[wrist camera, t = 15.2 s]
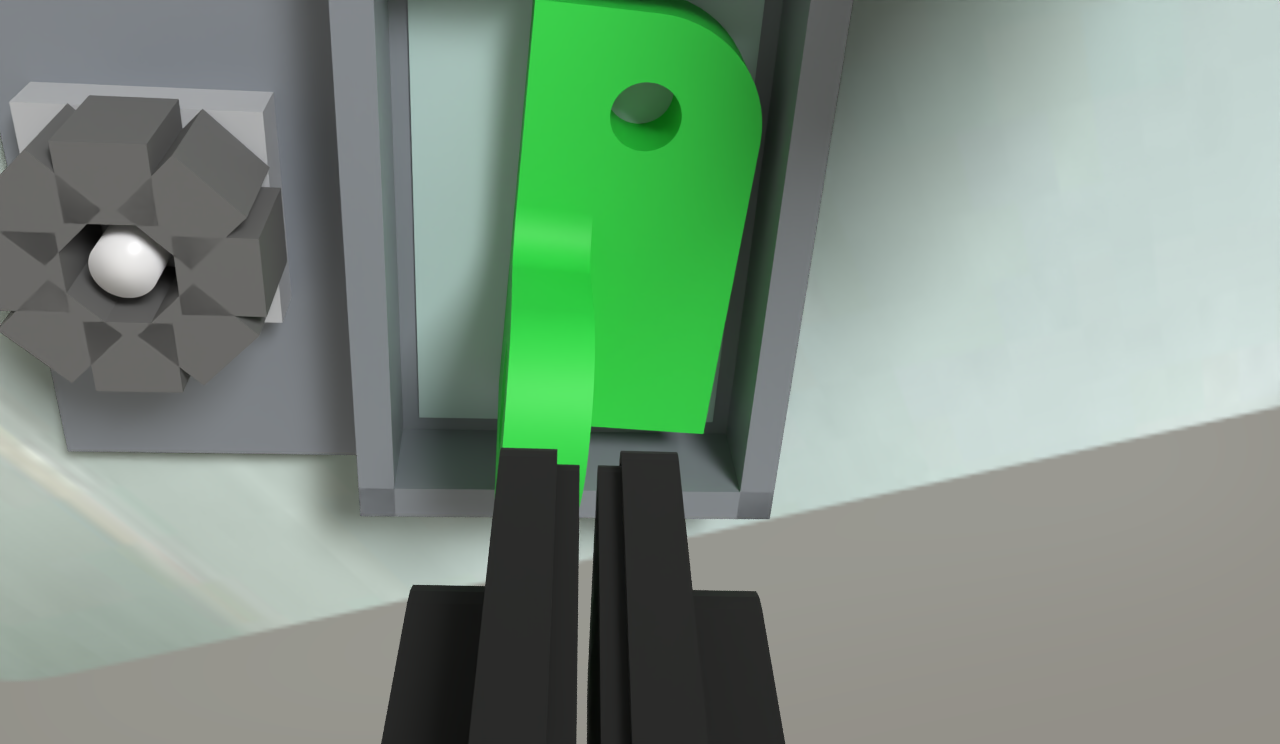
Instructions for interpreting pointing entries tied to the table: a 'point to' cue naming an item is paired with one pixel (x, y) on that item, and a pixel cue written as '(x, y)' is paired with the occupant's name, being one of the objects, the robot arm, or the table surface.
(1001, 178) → the table surface
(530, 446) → the mechanical part
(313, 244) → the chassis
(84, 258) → the wheel
